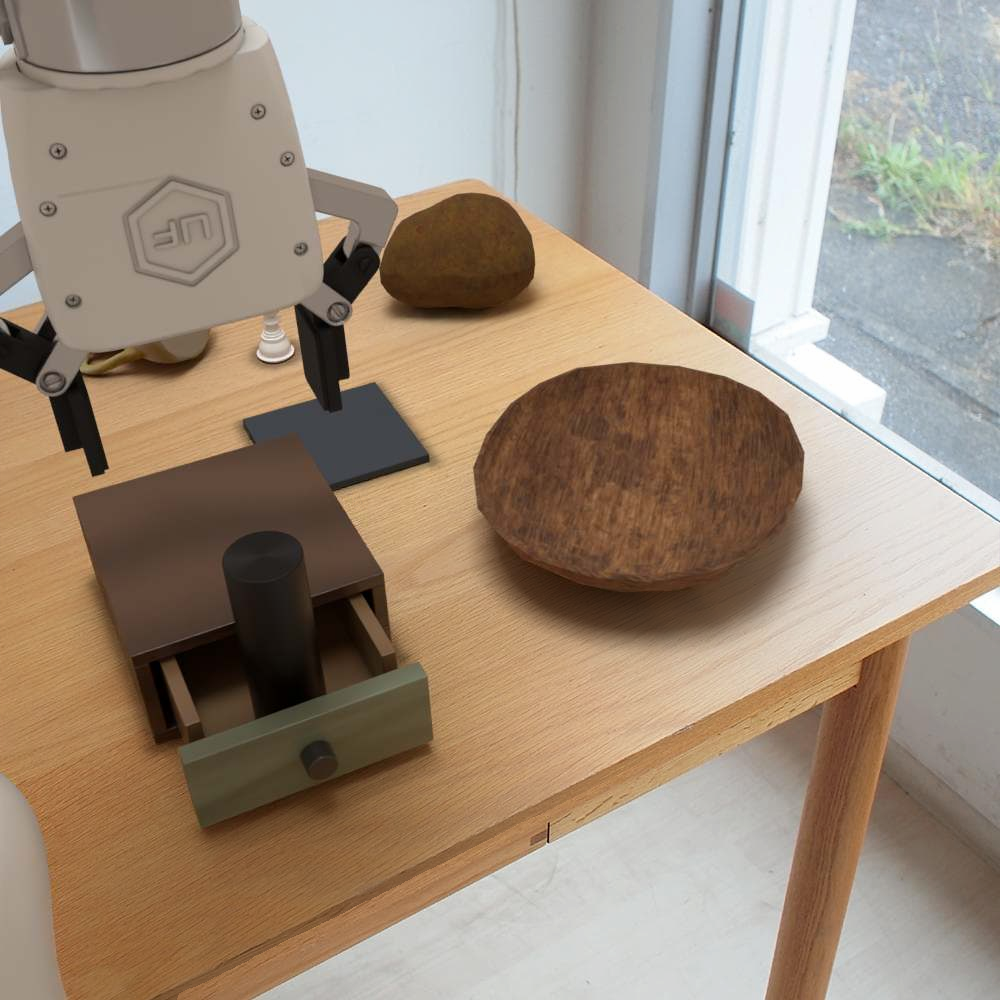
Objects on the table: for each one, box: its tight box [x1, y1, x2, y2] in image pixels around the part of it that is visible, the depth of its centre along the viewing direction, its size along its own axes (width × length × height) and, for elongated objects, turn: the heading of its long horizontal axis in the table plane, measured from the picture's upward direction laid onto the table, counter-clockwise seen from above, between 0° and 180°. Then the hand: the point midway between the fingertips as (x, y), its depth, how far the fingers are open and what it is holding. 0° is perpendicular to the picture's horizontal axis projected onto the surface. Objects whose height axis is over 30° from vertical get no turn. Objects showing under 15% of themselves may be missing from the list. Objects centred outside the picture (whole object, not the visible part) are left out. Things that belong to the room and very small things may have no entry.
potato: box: [378, 192, 536, 310], centre depth 103 cm, size 8×12×9 cm
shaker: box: [222, 530, 327, 720], centre depth 65 cm, size 4×4×11 cm
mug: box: [80, 328, 211, 376], centre depth 99 cm, size 8×10×10 cm
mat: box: [242, 381, 430, 492], centre depth 91 cm, size 10×10×1 cm
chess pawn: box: [256, 311, 295, 364], centre depth 99 cm, size 3×3×5 cm
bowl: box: [472, 361, 806, 593], centre depth 82 cm, size 20×22×5 cm
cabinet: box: [71, 432, 393, 745], centre depth 75 cm, size 15×14×7 cm
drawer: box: [153, 592, 435, 829], centre depth 69 cm, size 15×12×5 cm
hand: (212, 425), depth 54 cm, fingers open, 9 cm apart
